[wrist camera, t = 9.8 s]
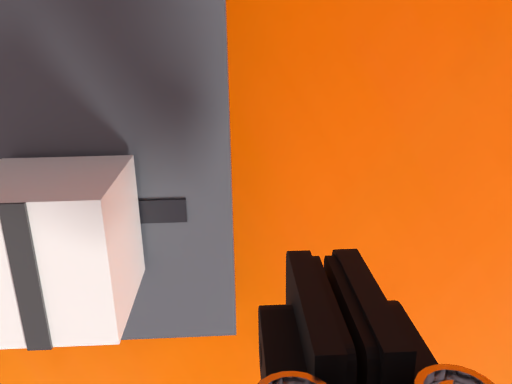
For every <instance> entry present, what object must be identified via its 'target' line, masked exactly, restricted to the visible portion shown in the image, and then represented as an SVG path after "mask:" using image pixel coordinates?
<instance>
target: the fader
mask: <svg viewBox="0 0 512 384" xmlns="http://www.w3.org/2000/svg"><path fill="white" fill-rule="evenodd" d="M144 271H145V263H144V253H143V244H142V234H141V224H140V214H139V205H138V195H137V185H136V175H135V166H134V156H133V155H115V156H77V157H39V158H2V159H0V349H19V348H27V350H28V351H29V350H51V349H52V348H53V347H65V346H89V345H112V344H120V341H121V338H122V335H123V332H124V329H125V326H126V323H127V321H128V318H129V315H130V312H131V309H132V306H133V303H134V300H135V297H136V294H137V292H138V289H139V286H140V283H141V280H142V277H143V274H144Z"/></svg>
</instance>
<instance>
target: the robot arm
mask: <svg viewBox="0 0 512 384" xmlns="http://www.w3.org/2000/svg"><path fill="white" fill-rule="evenodd" d="M258 318H259V357H260V373H261V380H260V382H259V383H258V384H494V383H493V382H491V381H490V380H489V379H488V378H487V377H485V376H483V375H481V374H479V373H478V372H476V371H474V370H471V369H468V368H465V367H462V366H457V365H450V364H438V363H437V361H436V360H435V358H434V356H433V355H432V353H431V352H430V350H429V348H428V347H427V345H426V344H425V342H424V340H423V339H422V337H421V336H420V334H419V332H418V331H417V329H416V328H415V326H414V325H413V323H412V321H411V320H410V318H409V317H408V315H407V313H406V312H405V310H404V309H403V307H402V305H401V304H400V303H399V302H398V301H395V300H393V301H387V299H386V298H385V296H384V294H383V292H382V291H381V289H380V287H379V286H378V284H377V282H376V281H375V279H374V277H373V275H372V274H371V272H370V270H369V269H368V267H367V265H366V263H365V262H364V260H363V258H362V257H361V255H360V253H359V251H358V250H357V249H338V250H333V252H332V256H325V258H324V267H323V265H322V262H321V260H320V257H319V256H312V255H311V252H310V250H309V251H287V254H286V305H264V306H259V311H258Z"/></svg>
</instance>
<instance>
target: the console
mask: <svg viewBox="0 0 512 384" xmlns="http://www.w3.org/2000/svg"><path fill="white" fill-rule="evenodd" d="M115 155H133V156H134V166H135V175H136V185H137V195H138V205H139V214H140V224H141V234H142V244H143V253H144V263H145V271H144V274H143V277H142V280H141V283H140V286H139V289H138V292H137V294H136V297H135V300H134V303H133V306H132V309H131V312H130V315H129V318H128V321H127V323H126V326H125V329H124V332H123V335H122V338H121V340H128V339H152V338H176V337H200V336H223V335H236V300H235V269H234V238H233V207H232V176H231V146H230V115H229V84H228V53H227V22H226V0H0V159H2V158H39V157H77V156H115Z"/></svg>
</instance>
